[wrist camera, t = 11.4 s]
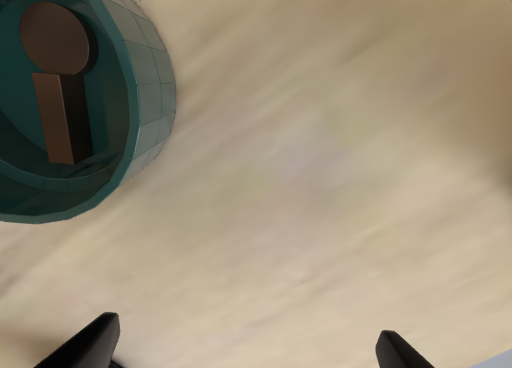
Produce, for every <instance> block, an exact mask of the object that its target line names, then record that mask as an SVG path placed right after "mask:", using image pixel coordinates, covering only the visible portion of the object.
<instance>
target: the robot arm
mask: <svg viewBox="0 0 512 368" xmlns="http://www.w3.org/2000/svg"><path fill="white" fill-rule="evenodd" d="M119 336H120V324H119V316H118V314H117V313H113V312H105V313H103V314H101V315H100V316H99V317H97V318H96V319H95V320H94V321H92V322H91V323H90V324H89V325H87V326H86V327H85V328H83V329H82V330H81V331H80V332H78V333H77V334H76V335H74V336H73V337H72V338H71V339H69V340H68V341H67V342H65V343H64V344H63V345H62V346H60V347H59V348H58V349H57V350H55V351H54V352H53V353H51V354H50V355H49V356H48V357H46V358H45V359H44V360H42V361H41V362H40V363H39V364H37V365H36V366H35V367H34V368H122V367H120V366H119V365H117V364H116V363H114V362H113V361H111V358H112V355H113V352H114V350H115V347H116V344H117V342H118V339H119ZM376 356H377V359H378V363H379V366H380V368H435V367H433V366H432V365H431V364H430V363H429V362H428V361H427V360H426V359H425V358H424V357H423V356H421V355H420V354H419V353H418V352H417V351H416V350H415V349H414V348H413V347H412V346H411V345H410V344H408V343H407V342H406V341H405V340H404V339H403V338H402V337H401V336H400V335H399V334H398V333H396V332H395V331H390V330H383V331H382V332H381V334H380V336H379V339H378V341H377V344H376Z"/></svg>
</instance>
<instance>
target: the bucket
mask: <svg viewBox="0 0 512 368" xmlns="http://www.w3.org/2000/svg"><path fill="white" fill-rule="evenodd" d="M42 1H49V2H54V3H57V4H60V5H62V6H65V7H68V8H70V9H72V10H74V11H76V12H77V13H79V14H80V15H81V16H82V17H83V18H84V19H85V20H86V21H87V22H88V23H89V25H90V26H91V28H92V30H93V31H94V34H95V36H96V39H97V43H98V58H97V61H96V64H95V65H94V67H93V68H92V70H91V71H90V72H88V73H87V74H85V75H83V82H84V89H85V96H86V104H87V111H88V118H89V126H90V133H91V140H92V148H93V156H91V157H89V158H87V159H85V160H83V161H81V162H79V163H77V164H75V165H70V164H59V163H50V162H49V157H48V152H47V148H46V143H45V138H44V133H43V128H42V123H41V118H40V113H39V108H38V103H37V98H36V93H35V88H34V83H33V78H32V72H45V71H43V70H42V69H40V68H39V67H38V66H37V65H35V64H34V62H33V61H32V60H31V59H30V58H29V56H28V55H27V53H26V52H25V50H24V48H23V45H22V43H21V39H20V34H19V24H20V20H21V17H22V14H23V13H24V11H25V10H26V9H27V8H28V7H29V6H30V5H32V4H34V3H37V2H42ZM175 110H176V84H175V78H174V74H173V71H172V67H171V63H170V59H169V55H168V53H167V50H166V48H165V46H164V45H163V43H162V41H161V39H160V37H159V35H158V33H157V31H156V29H155V27H154V25H153V24H152V22H151V21H150V20H149V19H148V17H147V16H146V15H145V14H144V13H143V11H142V10H141V9H140V8H139V7H138V5H137V4H136V3H135V2H134V1H133V0H0V221H3V222H12V223H25V224H43V223H50V222H56V221H62V220H68V219H71V218H73V217H76V216H78V215H80V214H82V213H84V212H86V211H89V210H91V209H93V208H95V207H97V206H98V205H99V204H101V203H102V202H103V201H104V200H105V199H107V198H108V197H109V196H110V195H112V194H113V193H114V192H115V191H116V190H118V189H119V188H120V187H121V186H123V185H124V184H125V183H126V182H127V181H129V180H130V179H131V178H132V177H134V176H135V175H136V174H137V173H138V172H140V171H141V170H142V169H143V168H144V167H145V166H147V165H148V164H149V163H150V162H151V161H152V160H153V159H154V158H155V157H157V156H158V154H159V152H160V151H161V149H162V147H163V146H164V144H165V142H166V141H167V139H168V137H169V135H170V133H171V129H172V125H173V121H174V117H175V113H176V111H175Z"/></svg>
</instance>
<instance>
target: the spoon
mask: <svg viewBox="0 0 512 368" xmlns="http://www.w3.org/2000/svg"><path fill="white" fill-rule="evenodd" d="M19 34H20V39H21V43H22V45H23V48H24V50H25V52H26V53H27V55H28V56H29V58H30V59H31V60H32V61H33V62H34V64H35V65H37V66H38V67H39V68H40V69H42V70H43V71H45V72H32V78H33V83H34V88H35V93H36V98H37V103H38V108H39V113H40V118H41V123H42V128H43V133H44V138H45V143H46V148H47V152H48V157H49V162H50V163H59V164H70V165H75V164H77V163H79V162H81V161H83V160H85V159H87V158H89V157H91V156H93V148H92V140H91V133H90V126H89V118H88V111H87V104H86V96H85V89H84V82H83V75H85V74H87V73H88V72H90V71H91V70H92V68H93V67H94V65H95V64H96V61H97V58H98V43H97V39H96V36H95V34H94V31H93V30H92V28H91V26H90V25H89V23H88V22H87V21H86V20H85V19H84V18H83V17H82V16H81V15H80V14H79V13H77V12H76V11H74V10H72V9H70V8H68V7H65V6H62V5H60V4H57V3H54V2H49V1H42V2H37V3H34V4H32V5H30V6H29V7H28V8H27V9H26V10H25V11H24V13H23V14H22V17H21V20H20V24H19Z"/></svg>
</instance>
